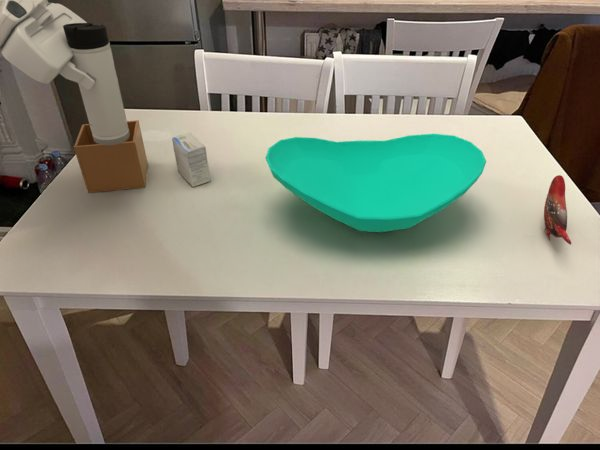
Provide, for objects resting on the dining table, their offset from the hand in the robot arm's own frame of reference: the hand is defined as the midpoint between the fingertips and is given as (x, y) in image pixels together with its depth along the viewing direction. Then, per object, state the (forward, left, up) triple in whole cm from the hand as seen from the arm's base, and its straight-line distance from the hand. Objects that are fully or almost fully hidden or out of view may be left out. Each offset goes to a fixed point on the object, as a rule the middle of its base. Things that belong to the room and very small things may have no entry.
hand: (100, 76), depth 78 cm
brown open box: (-4, +11, -26) cm, 28 cm away
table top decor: (+46, -12, -26) cm, 54 cm away
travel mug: (-1, 0, -11) cm, 12 cm away
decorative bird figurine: (+76, -27, -26) cm, 84 cm away
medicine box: (+12, +8, -26) cm, 30 cm away
